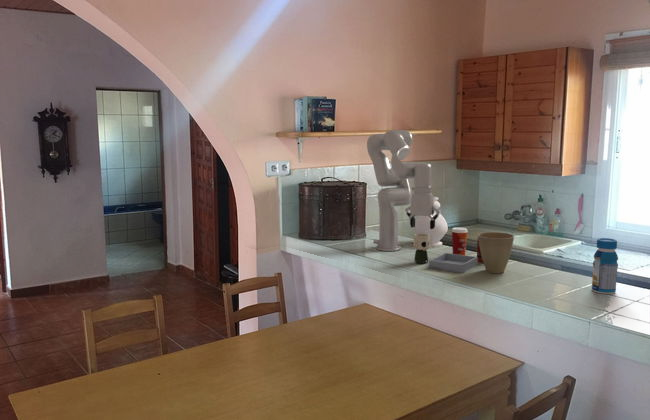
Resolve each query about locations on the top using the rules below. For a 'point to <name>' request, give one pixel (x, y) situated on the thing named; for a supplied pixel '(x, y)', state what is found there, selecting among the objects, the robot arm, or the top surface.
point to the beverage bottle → (605, 266)
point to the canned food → (479, 252)
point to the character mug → (421, 247)
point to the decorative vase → (439, 230)
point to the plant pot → (495, 250)
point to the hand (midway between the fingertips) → (422, 227)
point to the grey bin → (453, 262)
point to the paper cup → (459, 240)
